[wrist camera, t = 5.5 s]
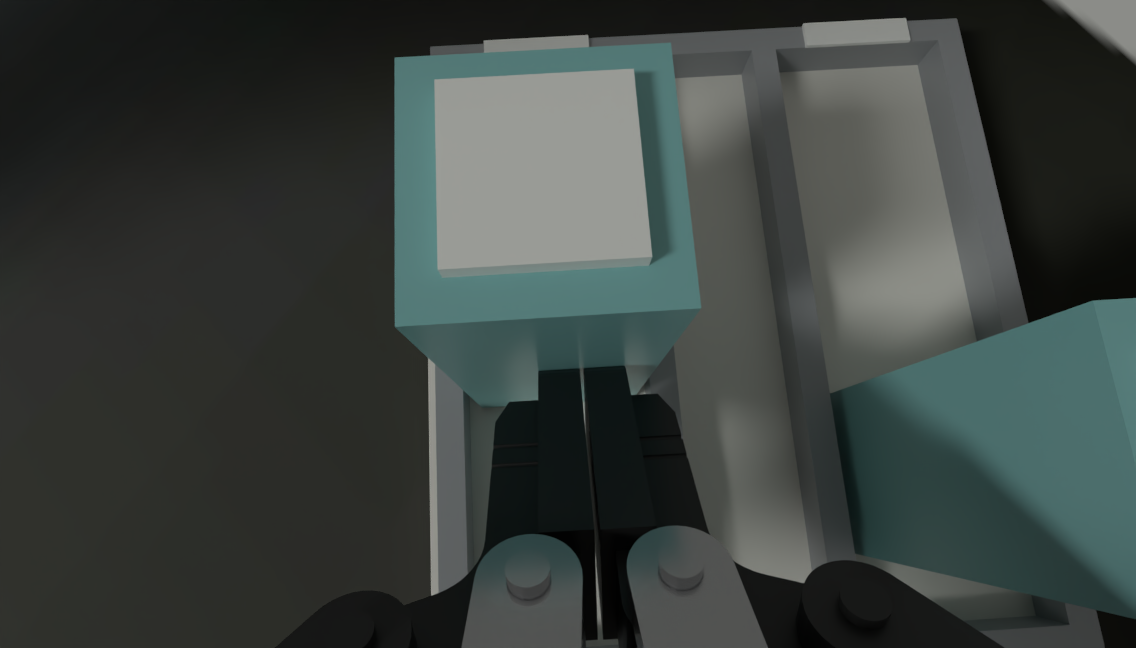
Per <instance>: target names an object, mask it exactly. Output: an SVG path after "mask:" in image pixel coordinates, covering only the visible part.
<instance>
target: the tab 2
mask: <svg viewBox="0 0 1136 648" xmlns="http://www.w3.org/2000/svg"><path fill="white" fill-rule="evenodd" d="M830 397H831V404H832V410H833V416H834V423H835V429H836V435H837V442H838V448H839V454H840V461H841V467H842V474H843V480H844V486H845V493H846V499H847V505H848V512H849V518H850V524H851V531H852V537H853V543H854V550H855V554H859V555H863V556H867V557H871V558H876V559H880V560H884V561H889V562H893V563H897V564H901V565H906V566H910V567H914V568H919V569H923V570H927V571H931V572H936V573H940V574H944V575H949V576H953V577H957V578H961V579H966V580H970V581H974V582H979V583H983V584H987V585H991V586H996V587H1000V588H1004V589H1009V590H1013V591H1017V592H1021V593H1026V594H1030V595H1034V596H1039V597H1043V598H1047V599H1051V600H1056V601H1060V602H1064V603H1069V604H1073V605H1077V606H1081V607H1086V608H1090V609H1094V610H1099V611H1103V612H1107V613H1111V614H1116V615H1120V616H1124V617H1129V618H1133V619H1136V298H1127V299H1111V300H1095V301H1090V302H1087V303H1085V304H1082V305H1079V306H1076V307H1073V308H1070V309H1068V310H1065V311H1062V312H1059V313H1056V314H1053V315H1051V316H1048V317H1045V318H1042V319H1039V320H1036V321H1034V322H1031V323H1028V324H1025V325H1022V326H1020V327H1017V328H1014V329H1011V330H1008V331H1005V332H1003V333H1000V334H997V335H994V336H991V337H988V338H986V339H983V340H980V341H977V342H974V343H971V344H969V345H966V346H963V347H960V348H957V349H954V350H952V351H949V352H946V353H943V354H940V355H937V356H935V357H932V358H929V359H926V360H923V361H920V362H918V363H915V364H912V365H909V366H906V367H903V368H901V369H898V370H895V371H892V372H889V373H886V374H884V375H881V376H878V377H875V378H872V379H870V380H867V381H864V382H861V383H858V384H855V385H853V386H850V387H847V388H844V389H841V390H838V391H836V392H833V393H830Z"/></svg>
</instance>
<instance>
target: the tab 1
mask: <svg viewBox="0 0 1136 648" xmlns="http://www.w3.org/2000/svg"><path fill="white" fill-rule="evenodd" d="M700 309H701V301H700V292H699V283H698V275H697V266H696V257H695V248H694V240H693V231H692V222H691V214H690V205H689V196H688V187H687V179H686V170H685V161H684V153H683V144H682V135H681V127H680V118H679V109H678V100H677V92H676V83H675V74H674V66H673V57H672V48H671V43H656V44H637V45H619V46H600V47H581V48H563V49H544V50H526V51H507V52H489V53H470V54H452V55H433V56H415V57H396V58H395V327H396V328H397V329H398V330H399V331H400V332H401V333H402V334H403V335H404V336H405V337H406V338H407V339H408V340H410V341H411V342H412V343H413V344H414V345H415V346H416V347H417V348H418V349H419V350H420V351H421V352H423V353H424V354H425V355H426V356H427V357H428V358H429V359H430V360H431V361H432V362H433V363H434V364H435V365H437V366H438V367H439V368H440V369H441V370H442V371H443V372H444V373H445V374H446V375H447V376H448V377H449V378H451V379H452V380H453V381H454V382H455V383H456V384H457V385H458V386H459V387H460V388H461V389H462V390H463V391H465V392H466V393H467V394H468V395H469V396H470V397H471V398H472V399H473V400H474V401H475V402H476V403H477V404H479V405H480V406H481V407H482V408H489V407H504V406H507V404H508V403H509V402H514V401H532V400H538V371H547V370H564V369H580V378H581V389H582V399H583V402H584V374H583V370H584V369H585V368H603V367H620V366H625V368H626V372H627V377H628V382H629V387H630V392H631V395H636V394H637V393H638V392H639V390H640V389H641V388H642V386H643V385H644V384H645V382H646V381H647V380H648V378H649V377H650V376H651V374H652V373H653V372H654V370H655V369H656V368H657V366H658V365H659V364H660V362H661V361H662V360H663V358H664V357H665V356H666V354H667V353H668V352H669V350H670V349H671V348H672V347H673V345H674V344H675V343H676V341H677V340H678V339H679V337H680V336H681V335H682V333H683V332H684V331H685V329H686V328H687V327H688V325H689V324H690V323H691V321H692V320H693V319H694V317H695V316H696V315H697V313H698V312H699V311H700Z"/></svg>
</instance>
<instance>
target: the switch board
mask: <svg viewBox="0 0 1136 648" xmlns="http://www.w3.org/2000/svg"><path fill="white" fill-rule="evenodd" d="M656 43H671V48H672V57H673V66H674V74H675V83H676V92H677V100H678V109H679V118H680V127H681V135H682V144H683V153H684V161H685V170H686V179H687V187H688V196H689V205H690V214H691V222H692V231H693V240H694V248H695V257H696V266H697V275H698V283H699V292H700V301H701V309H700V311H699V312H698V313H697V315H696V316H695V317H694V319H693V320H692V321H691V323H690V324H689V325H688V327H687V328H686V329H685V331H684V332H683V333H682V335H681V336H680V337H679V339H678V340H677V341H676V343H675V344H674V345H673V347H672V348H671V349H670V350H669V352H668V353H667V354H666V356H665V357H664V358H663V360H662V361H661V362H660V364H659V365H658V366H657V368H656V369H655V370H654V372H653V373H652V374H651V376H650V377H649V378H648V380H647V381H646V382H645V384H644V385H643V386H642V388H641V389H640V390H639V392H638V393H637V394H636V395H640V394H657V393H658V394H659V395H660V397H661V398H662V399H663V400H664V401H665V402H666V403H667V404H668V405H669V406H670V407H671V408H672V409H673V410H674V411H675V413H676V417H677V420H678V424H679V428H680V431H681V437H682V439H683V442H684V446H685V449H686V453H687V458H688V460H689V464H690V467H691V471H692V474H693V478H694V482H695V485H696V489H697V492H698V496H699V499H700V503H701V507H702V510H703V514H704V517H705V521H706V525H707V528H708V531H709V533H710V535H711V536H712V537H714V538H715V539H717V540H718V541H719V542H720V543H721V544H722V545H723V546H724V547H725V548H726V549H727V551H728V552H729V553H730V555H731V557H732V559H733V561H735V562H736V563H738V564H740V565H742V566H743V567H745V568H748V569H750V570H752V571H755V572H758V573H762V574H765V575H770V576H774V577H778V578H783V579H787V580H792V581H796V582H801V583H805V580H806V578H807V577H808V575H809V574H810V573H811V572H812V571H813V570H814V569H816V568H817V567H818V566H821V565H823V564H825V563H828V562H832V561H838V560H852V561H858V562H863V563H867V564H870V565H873V566H875V567H878V568H880V569H882V570H884V571H886V572H888V573H890V574H891V575H893V576H895V577H896V578H898V579H899V580H901V581H902V582H904V583H905V584H907V585H908V586H910V587H912V588H913V589H915V590H916V591H918V592H919V593H921V594H922V595H924V596H925V597H927V598H929V599H930V600H932V601H933V602H935V603H936V604H938V605H939V606H941V607H942V608H944V609H946V610H947V611H949V612H950V613H952V614H953V615H955V616H956V617H958V618H960V619H961V620H963V621H964V622H966V623H967V624H969V625H970V626H972V627H973V628H975V629H977V630H978V631H980V632H981V633H983V634H984V635H986V636H987V637H989V638H990V639H992V640H994V641H995V642H997V643H998V644H1000V645H1001V646H1003V647H1004V648H1105V646H1104V642H1103V638H1102V633H1101V629H1100V625H1099V621H1098V616H1097V612H1096V610H1094V609H1090V608H1086V607H1081V606H1077V605H1073V604H1069V603H1064V602H1060V601H1056V600H1051V599H1047V598H1043V597H1039V596H1034V595H1030V594H1026V593H1021V592H1017V591H1013V590H1009V589H1004V588H1000V587H996V586H991V585H987V584H983V583H979V582H974V581H970V580H966V579H961V578H957V577H953V576H949V575H944V574H940V573H936V572H931V571H927V570H923V569H919V568H914V567H910V566H906V565H901V564H897V563H893V562H889V561H884V560H880V559H876V558H871V557H867V556H863V555H859V554H855V550H854V543H853V537H852V531H851V524H850V518H849V512H848V505H847V499H846V493H845V486H844V480H843V474H842V467H841V461H840V454H839V448H838V442H837V435H836V429H835V423H834V416H833V410H832V404H831V397H830V393H833V392H836V391H838V390H841V389H844V388H847V387H850V386H853V385H855V384H858V383H861V382H864V381H867V380H870V379H872V378H875V377H878V376H881V375H884V374H886V373H889V372H892V371H895V370H898V369H901V368H903V367H906V366H909V365H912V364H915V363H918V362H920V361H923V360H926V359H929V358H932V357H935V356H937V355H940V354H943V353H946V352H949V351H952V350H954V349H957V348H960V347H963V346H966V345H969V344H971V343H974V342H977V341H980V340H983V339H986V338H988V337H991V336H994V335H997V334H1000V333H1003V332H1005V331H1008V330H1011V329H1014V328H1017V327H1020V326H1022V325H1025V324H1028V319H1027V314H1026V310H1025V306H1024V302H1023V297H1022V293H1021V289H1020V285H1019V280H1018V276H1017V272H1016V268H1015V263H1014V259H1013V255H1012V251H1011V246H1010V242H1009V238H1008V233H1007V229H1006V225H1005V221H1004V216H1003V212H1002V208H1001V204H1000V199H999V195H998V191H997V187H996V182H995V178H994V174H993V170H992V165H991V161H990V157H989V153H988V148H987V144H986V140H985V136H984V131H983V127H982V123H981V119H980V114H979V110H978V106H977V102H976V97H975V93H974V89H973V85H972V80H971V76H970V72H969V68H968V63H967V59H966V55H965V51H964V46H963V42H962V38H961V34H960V29H959V25H958V21H957V18H955V19H937V20H918V21H906V18H894V19H875V20H857V21H838V22H819V23H803V25H802V27H788V28H769V29H750V30H732V31H713V32H695V33H676V34H657V35H639V36H620V37H602V38H588V35H577V36H558V37H539V38H521V39H502V40H484V44H471V45H453V46H434V47H430V56H433V55H452V54H470V53H489V52H507V51H526V50H544V49H563V48H581V47H600V46H619V45H637V44H656ZM428 386H429V462H430V539H431V596H432V595H435V594H437V593H440V592H442V591H444V590H446V589H448V588H450V587H452V586H453V585H455V584H456V583H458V582H459V581H460V580H462V579H463V578H464V577H465V576H466V575H467V574H468V573H469V572H470V571H471V570H472V569H473V567H474V566H475V565H476V563H477V562H478V560H479V558H480V556H481V554H482V551H483V548H484V543H485V535H486V524H487V512H488V500H489V489H490V477H491V469H492V454H493V442H494V431H495V422H496V420H497V419H498V417H499V416H500V415H501V413H502V412H503V410H504V409H505V407H506V406H504V407H489V408H482V407H481V406H480V405H479V404H477V403H476V402H475V401H474V400H473V399H472V398H471V397H470V396H469V395H468V394H467V393H466V392H465V391H463V390H462V389H461V388H460V387H459V386H458V385H457V384H456V383H455V382H454V381H453V380H452V379H451V378H449V377H448V376H447V375H446V374H445V373H444V372H443V371H442V370H441V369H440V368H439V367H438V366H437V365H435V364H434V363H433V362H432V361H431V360H430V359H429V358H428ZM583 410H584V421H585V403H584V402H583ZM585 432H586V430H585ZM595 563H596V556H595ZM596 596H597V628H598V640H587V641H586V648H619V644H618V639H609V640H603V634H602V623H601V612H600V600H599V589H598V578H597V567H596Z"/></svg>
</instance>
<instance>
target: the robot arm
mask: <svg viewBox="0 0 1136 648" xmlns="http://www.w3.org/2000/svg"><path fill="white" fill-rule="evenodd" d="M583 374H584V403H585V421H584V410H583V399H582V389H581V378H580V369H564V370H547V371H538V400H532V401H514V402H509V403H508V404H507V406H506V407H505V409H504V410H503V412H502V413H501V415H500V416H499V417H498V419H497V420H496V422H495V431H494V442H493V454H492V469H491V477H490V489H489V500H488V512H487V524H486V535H485V543H484V548H483V551H482V554H481V556H480V558H479V560H478V562H477V563H476V565H475V566H474V567H473V569H472V570H471V571H470V572H469V573H468V574H467V575H466V576H465V577H464V578H463V579H462V580H460V581H459V582H458V583H456V584H455V585H453V586H452V587H450V588H448V589H446V590H444V591H442V592H440V593H437V594H435V595H432V596H429V597H426V598H424V599H421V600H418V601H415V602H412V603H410V604H407V605H403V604H402V603H401V602H400V601H399V600H398V599H396V598H394V597H393V596H391V595H389V594H386V593H383V592H378V591H359V592H353V593H350V594H346V595H343V596H341V597H339V598H337V599H334V600H333V601H331V602H329V603H328V604H326V605H324V606H323V607H322V608H320V609H319V610H318V611H317V612H315V613H314V614H313V615H312V616H311V617H310V618H308V619H307V620H306V621H305V622H304V623H303V624H302V625H300V626H299V627H298V628H297V629H296V630H295V631H294V632H292V633H291V634H290V635H289V636H288V637H287V638H286V639H284V640H283V641H282V642H281V643H280V644H279V645H278V646H276V647H275V648H586V641H587V640H598V628H597V596H596V567H597V578H598V589H599V600H600V612H601V623H602V634H603V640H609V639H618V644H619V648H1004V647H1003V646H1001V645H1000V644H998V643H997V642H995V641H994V640H992V639H990V638H989V637H987V636H986V635H984V634H983V633H981V632H980V631H978V630H977V629H975V628H973V627H972V626H970V625H969V624H967V623H966V622H964V621H963V620H961V619H960V618H958V617H956V616H955V615H953V614H952V613H950V612H949V611H947V610H946V609H944V608H942V607H941V606H939V605H938V604H936V603H935V602H933V601H932V600H930V599H929V598H927V597H925V596H924V595H922V594H921V593H919V592H918V591H916V590H915V589H913V588H912V587H910V586H908V585H907V584H905V583H904V582H902V581H901V580H899V579H898V578H896V577H895V576H893V575H891V574H890V573H888V572H886V571H884V570H882V569H880V568H878V567H875V566H873V565H870V564H867V563H863V562H858V561H852V560H838V561H832V562H828V563H825V564H823V565H821V566H818V567H817V568H816V569H814V570H813V571H812V572H811V573H810V574H809V575H808V577H807V578H806V580H805V583H801V582H796V581H792V580H787V579H783V578H778V577H774V576H770V575H765V574H762V573H758V572H755V571H752V570H750V569H748V568H745V567H743V566H742V565H740V564H738V563H736V562H735V561H733V559H732V557H731V555H730V553H729V552H728V551H727V549H726V548H725V547H724V546H723V545H722V544H721V543H720V542H719V541H718V540H717V539H715V538H714V537H712V536H711V535H710V533H709V531H708V528H707V525H706V521H705V517H704V514H703V510H702V507H701V503H700V499H699V496H698V492H697V489H696V485H695V482H694V478H693V474H692V471H691V467H690V464H689V460H688V458H687V453H686V449H685V446H684V442H683V439H682V437H681V431H680V428H679V424H678V420H677V417H676V413H675V411H674V410H673V409H672V408H671V407H670V406H669V405H668V404H667V403H666V402H665V401H664V400H663V399H662V398H661V397H660V395H659V394H658V393H657V394H640V395H631V392H630V387H629V382H628V377H627V372H626V368H625V366H620V367H603V368H585V369H584V370H583ZM585 430H586V432H585ZM595 556H596V563H595Z"/></svg>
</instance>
